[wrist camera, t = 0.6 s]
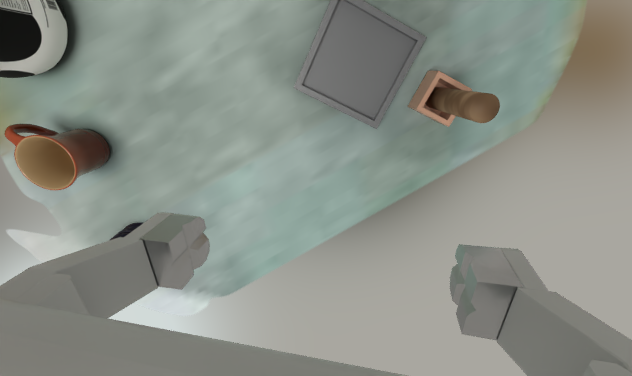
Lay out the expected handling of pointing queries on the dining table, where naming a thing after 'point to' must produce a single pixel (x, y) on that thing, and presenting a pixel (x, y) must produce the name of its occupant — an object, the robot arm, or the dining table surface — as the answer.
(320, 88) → the tray
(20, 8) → the milk container
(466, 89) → the pot
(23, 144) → the mug
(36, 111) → the dining table surface
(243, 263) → the dining table surface
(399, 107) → the dining table surface
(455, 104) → the dowel
